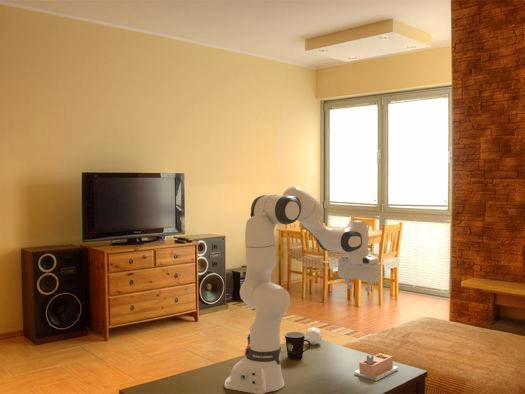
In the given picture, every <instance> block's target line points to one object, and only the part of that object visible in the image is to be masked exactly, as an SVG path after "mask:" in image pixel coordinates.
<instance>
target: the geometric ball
mask: <svg viewBox="0 0 525 394" xmlns="http://www.w3.org/2000/svg"><path fill="white" fill-rule="evenodd" d="M322 338H323V336H322V332H321V330H320V329H319V328H317V327H309V328H308V329H307V330H306V331H305V340H308V341H309V342H310V345H312V346H314V345H319V343H320V342H321V340H322Z"/></svg>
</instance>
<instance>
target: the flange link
mask: <svg viewBox="0 0 525 394" xmlns="http://www.w3.org/2000/svg"><path fill="white" fill-rule="evenodd" d="M380 354H383V359H382V358H380ZM372 356H373V359H374V364H373V365H370V364H367V358H366V359H364V360H362V361H360V362H358V363H359V364H358V367H359V369H358V370H359V373H363V374H366V375H370V376H374V375H376V374H378V373H380V372H382V371H384V370H386V369H388V368H390V367H392V366H394V363H393V360H394V359H393V357H394V356H393V355H389V354H384V353H378V354H375V355H372Z"/></svg>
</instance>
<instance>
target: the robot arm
mask: <svg viewBox="0 0 525 394" xmlns="http://www.w3.org/2000/svg"><path fill="white" fill-rule="evenodd" d="M323 217H324V207H323V205H322V204H321V203H320V202H319V201H318V199H316V198H314V197H313V196H312V195H311V194H310V193H308V192H306V191H305V190H304V189H302V188H299V187H296V186H291V187H289V188H287V189H285V191H284V192H283V193H282V195H278V194H269V195H267V194H265V195H264V194H263V195H260V196H258V197H256V198H254V199H253V201H252V203H251V206H250V218H248V219H247V221H246V223H245V233H244V234H245V235H244V239H245V240H244V243H245V244H244V245H245V256H246V257H245V258H246V271H245V272H246V273H245V278H244V281H243V283H241V286H240V289H239V296H240V299H241V300H242V301H243V303H245V304H246V305H247V306H249V308H253V309H255V310H256V315H255V319H254V322H253V323H252V324H251V325H250V328H249V334H250V344H249V345H248V344H247V346H246V347H245V350H244V355H245V356H244V357H243V358H242V359H240V360H239V361H238V362H237V363H235V364H234V365H233V367H232V369H231V371H230V375H229V376H228V377H227V378H226V379H225V381H224V385H223V387H224V388H225V389H227V390H233V391H239V392H244V393H250V394H266V393H269V392H276V391H278V390H281V389H282V388H284V386H285V385H286V384H285V380H284V378H283V373H282V366H281V362H282V348H281V346H280V344H281V343H280V342H281V341H280V336H281V335H280V334H281V333H280V332H281V331H280V329H281V323H282V319H283V316H284V314H285V313H287V311H288V310H289V308H290V306H291V301H292V299H291V295H290V293H289V291H288V290H287V289H285V288H284V287H282V286H281V285H280V284H276V283H273V282H272V273H273V270H274V269H275V268H276V266H277V251H276V240H275V239H276V238H275V234H274V233H275V228H276V226H277V225H291V224H294V223H296V221H298V222H299V223H300V225H301V227H303V228H304V229H305V230H306V231H307V232H308V233H309V234H310V235H311V236H312V237H314V239H315V241H316V242H317V244H318V245H319V247H320V249H321V250H323V251H324V252H326V251H327V252H339V253H340V252H341V253H347V256H343V255H342V256H340V257H339V258H338V262H337V263H338V265H337V276H338V277H339V278H343V279H344V282H345V284H346V289H349V290H350V289H352V288H353V284H352V283H351V281H350V280H358V281H365V282H366V281H367V286H365V288H364V289H365V292H371V290H372V289H371V287H372V286H373V283H378V282H379V281H381V279H382V272H381V266H380V264H379V263H380V258H379V257H377V256H375V255H373V254H371V253H369V240H370V239H369V237H370V236H369V227H368V224H367V222H365V221H362V220H355V219H354V220H350V221H349V222H348V224H346V226H345V227H343V228H332V227H326V226H325V225H323V224H322V223H321V220H322V219H323Z"/></svg>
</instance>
